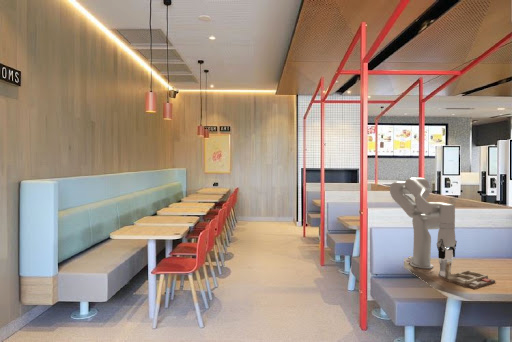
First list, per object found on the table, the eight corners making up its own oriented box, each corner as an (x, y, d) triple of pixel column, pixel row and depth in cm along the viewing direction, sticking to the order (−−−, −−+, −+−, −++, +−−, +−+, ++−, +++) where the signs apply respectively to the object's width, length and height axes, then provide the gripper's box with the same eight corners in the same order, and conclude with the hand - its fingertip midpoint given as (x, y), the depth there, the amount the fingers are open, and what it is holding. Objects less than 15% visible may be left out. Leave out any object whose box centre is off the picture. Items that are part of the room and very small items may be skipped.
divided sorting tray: (444, 280, 193) (444, 275, 192) (466, 274, 203) (466, 269, 203) (473, 288, 180) (474, 283, 180) (495, 282, 190) (495, 277, 190)
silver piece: (455, 277, 197) (456, 250, 197) (442, 277, 197) (443, 250, 196) (447, 273, 204) (448, 247, 204) (435, 273, 204) (436, 247, 203)
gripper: (449, 224, 207) (449, 254, 207) (431, 226, 198) (430, 257, 198) (462, 226, 201) (462, 257, 201) (444, 228, 192) (444, 260, 192)
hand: (446, 257), depth 199 cm, fingers open, 9 cm apart
